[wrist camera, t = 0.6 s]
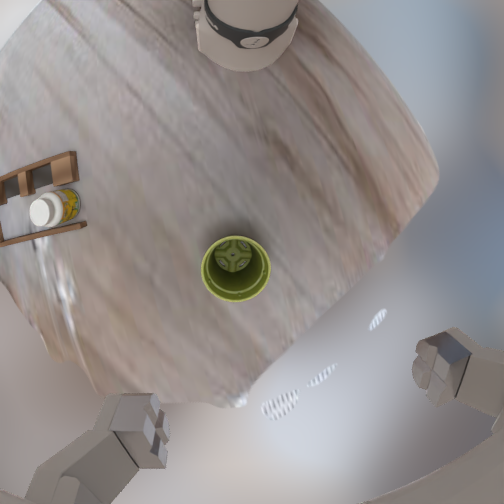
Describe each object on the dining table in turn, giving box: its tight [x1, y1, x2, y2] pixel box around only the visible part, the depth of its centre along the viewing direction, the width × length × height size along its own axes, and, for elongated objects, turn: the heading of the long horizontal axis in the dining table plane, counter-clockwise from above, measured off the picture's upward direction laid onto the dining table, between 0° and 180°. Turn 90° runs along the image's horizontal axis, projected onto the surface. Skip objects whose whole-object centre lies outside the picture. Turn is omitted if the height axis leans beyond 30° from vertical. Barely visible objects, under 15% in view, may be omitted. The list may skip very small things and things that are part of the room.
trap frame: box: [0, 151, 87, 247], centre depth 41 cm, size 13×22×2 cm, turn 97°
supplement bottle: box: [30, 189, 80, 227], centre depth 39 cm, size 5×5×10 cm
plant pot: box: [201, 236, 271, 302], centre depth 44 cm, size 9×9×9 cm
